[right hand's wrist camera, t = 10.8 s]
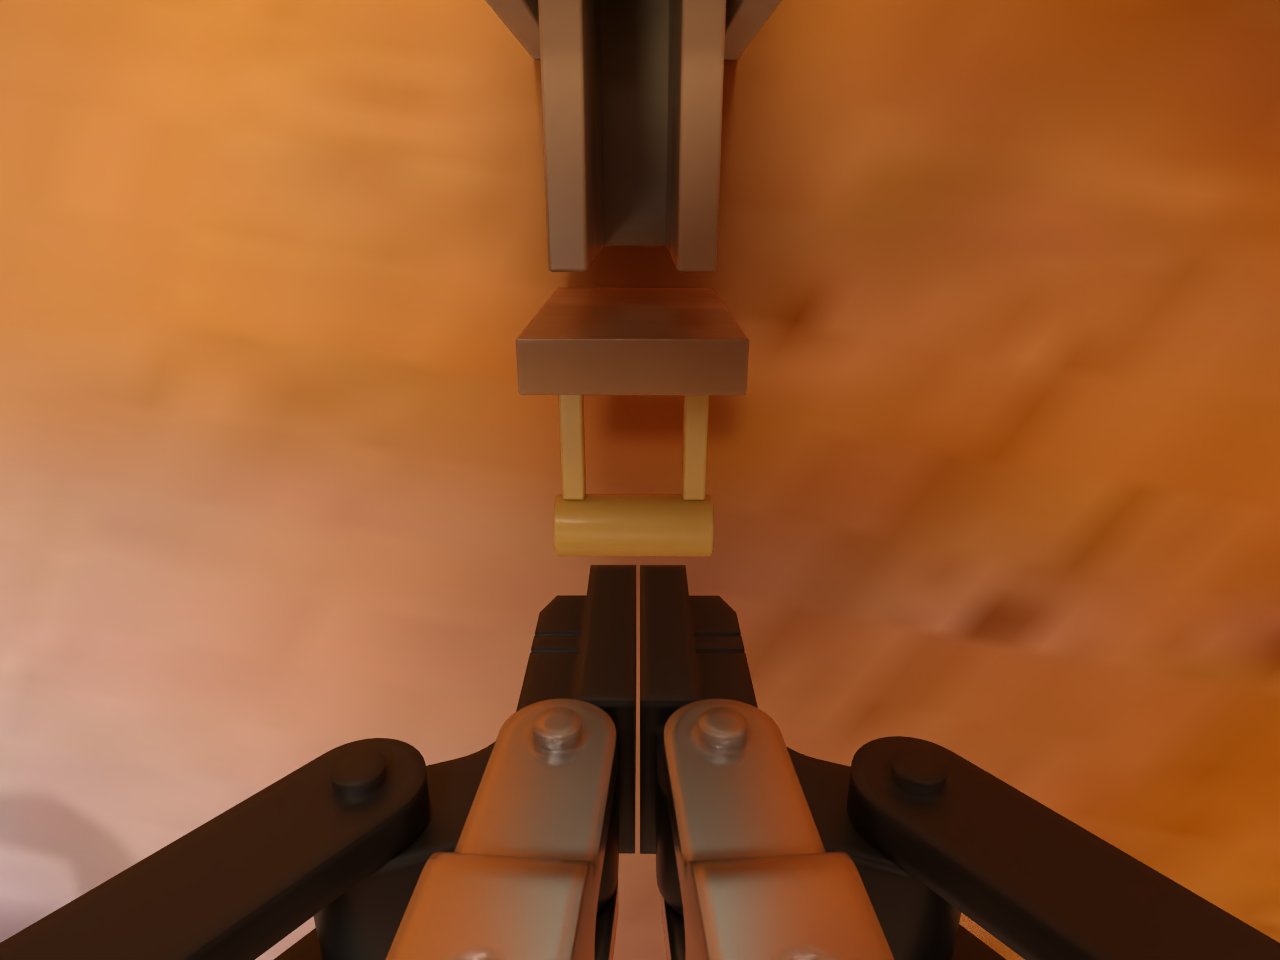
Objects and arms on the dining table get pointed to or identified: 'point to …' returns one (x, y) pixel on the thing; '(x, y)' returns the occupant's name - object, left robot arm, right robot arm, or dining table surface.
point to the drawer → (632, 216)
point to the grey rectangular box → (744, 18)
